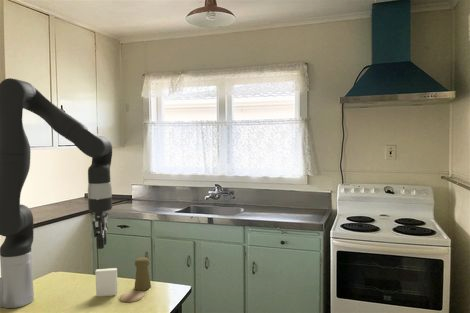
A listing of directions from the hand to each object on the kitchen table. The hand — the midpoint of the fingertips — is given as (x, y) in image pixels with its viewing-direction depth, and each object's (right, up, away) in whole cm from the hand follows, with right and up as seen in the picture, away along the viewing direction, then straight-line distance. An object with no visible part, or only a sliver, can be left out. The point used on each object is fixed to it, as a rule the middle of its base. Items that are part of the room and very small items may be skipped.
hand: (101, 246), depth 125 cm
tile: (-1, -19, +7) cm, 20 cm away
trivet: (+9, -19, +4) cm, 21 cm away
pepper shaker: (+11, -19, +13) cm, 25 cm away
